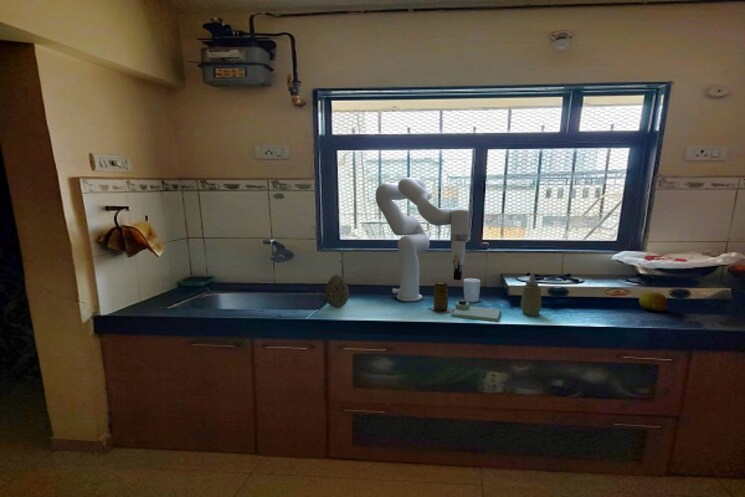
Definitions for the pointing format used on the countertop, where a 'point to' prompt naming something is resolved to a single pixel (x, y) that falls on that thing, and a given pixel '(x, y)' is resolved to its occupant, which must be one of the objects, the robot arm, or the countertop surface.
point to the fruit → (653, 301)
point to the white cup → (471, 289)
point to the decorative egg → (337, 292)
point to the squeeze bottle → (531, 297)
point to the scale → (476, 312)
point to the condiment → (441, 298)
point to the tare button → (462, 302)
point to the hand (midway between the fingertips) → (457, 279)
